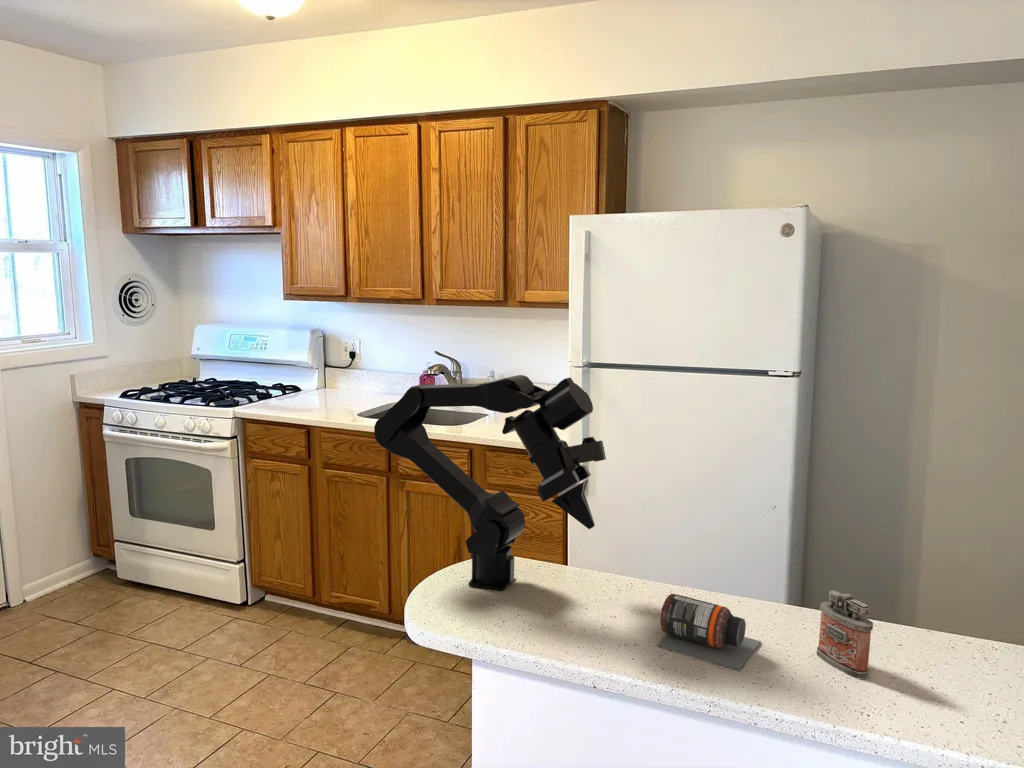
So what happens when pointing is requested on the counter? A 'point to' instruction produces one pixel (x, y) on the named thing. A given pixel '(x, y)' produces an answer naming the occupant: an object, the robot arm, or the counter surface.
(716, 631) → the supplement bottle
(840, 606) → the lighter
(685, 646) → the mat
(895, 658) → the counter surface
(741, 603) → the counter surface
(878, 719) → the counter surface
